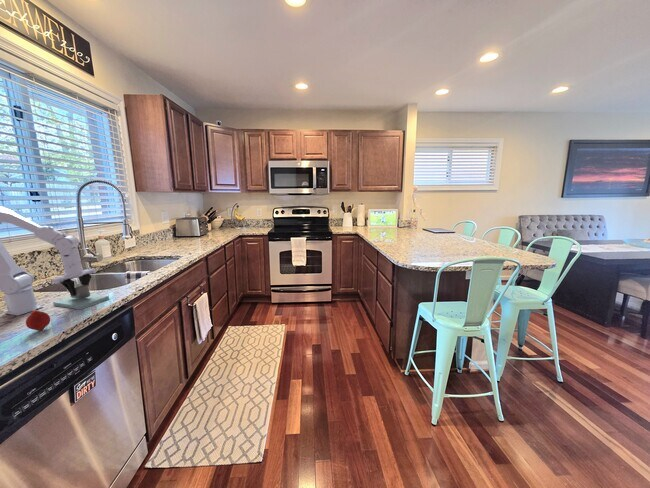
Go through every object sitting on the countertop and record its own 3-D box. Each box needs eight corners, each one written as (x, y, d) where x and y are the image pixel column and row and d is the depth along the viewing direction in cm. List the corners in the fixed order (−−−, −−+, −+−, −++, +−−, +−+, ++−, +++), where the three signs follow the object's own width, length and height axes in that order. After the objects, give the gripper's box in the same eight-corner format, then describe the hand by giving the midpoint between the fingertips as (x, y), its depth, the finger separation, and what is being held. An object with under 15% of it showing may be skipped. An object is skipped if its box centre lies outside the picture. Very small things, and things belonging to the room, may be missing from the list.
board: (53, 305, 115) (53, 302, 115) (83, 295, 125) (82, 292, 125) (81, 309, 109) (80, 306, 109) (109, 298, 120) (108, 295, 119)
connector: (65, 296, 117) (62, 286, 116) (76, 293, 121) (73, 283, 120) (82, 298, 113) (79, 288, 112) (92, 295, 117) (90, 284, 116)
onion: (51, 324, 97) (46, 304, 95) (53, 329, 93) (47, 308, 92) (28, 331, 93) (22, 310, 91) (29, 336, 89) (22, 315, 87)
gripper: (57, 269, 106) (65, 300, 108) (97, 259, 119) (103, 287, 122) (46, 268, 108) (54, 299, 111) (87, 259, 121) (93, 286, 124)
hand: (79, 293), depth 116 cm, fingers closed on connector, 4 cm apart
